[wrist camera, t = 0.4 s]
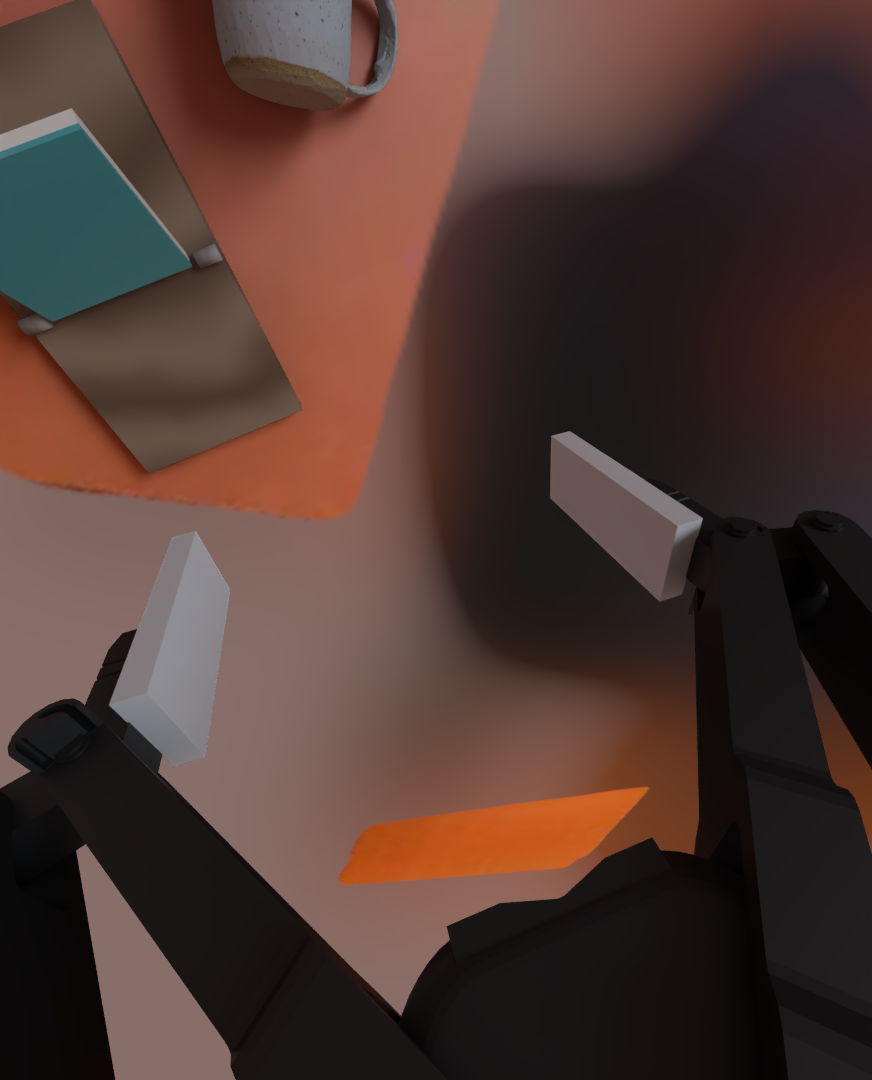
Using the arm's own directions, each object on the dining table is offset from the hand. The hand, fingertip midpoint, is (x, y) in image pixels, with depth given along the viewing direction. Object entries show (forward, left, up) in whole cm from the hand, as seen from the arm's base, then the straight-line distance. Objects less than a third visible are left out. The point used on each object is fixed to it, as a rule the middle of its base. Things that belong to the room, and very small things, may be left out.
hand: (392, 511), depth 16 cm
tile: (-13, -11, -21) cm, 27 cm away
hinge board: (-10, -11, -27) cm, 31 cm away
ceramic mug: (-19, +7, -27) cm, 34 cm away
